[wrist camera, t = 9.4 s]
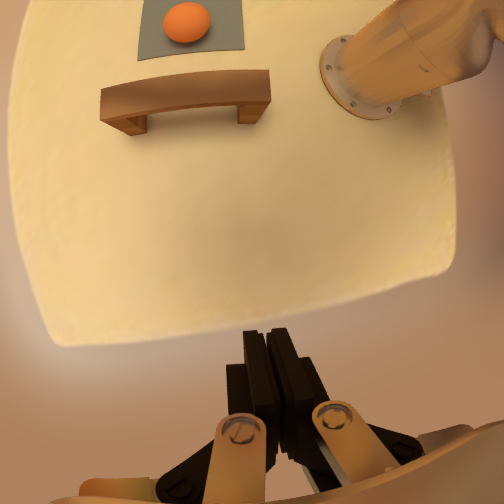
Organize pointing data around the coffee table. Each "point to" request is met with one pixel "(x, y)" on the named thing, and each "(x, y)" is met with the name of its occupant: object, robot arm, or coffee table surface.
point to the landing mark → (215, 39)
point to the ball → (186, 22)
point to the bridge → (185, 96)
